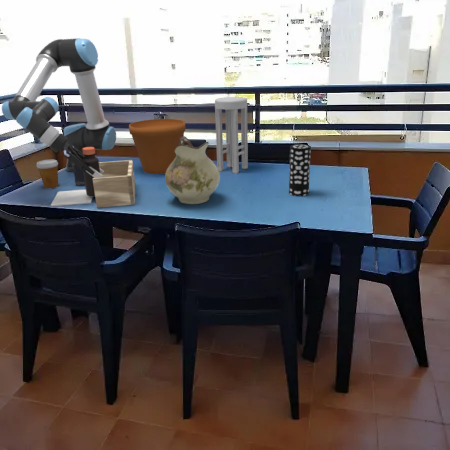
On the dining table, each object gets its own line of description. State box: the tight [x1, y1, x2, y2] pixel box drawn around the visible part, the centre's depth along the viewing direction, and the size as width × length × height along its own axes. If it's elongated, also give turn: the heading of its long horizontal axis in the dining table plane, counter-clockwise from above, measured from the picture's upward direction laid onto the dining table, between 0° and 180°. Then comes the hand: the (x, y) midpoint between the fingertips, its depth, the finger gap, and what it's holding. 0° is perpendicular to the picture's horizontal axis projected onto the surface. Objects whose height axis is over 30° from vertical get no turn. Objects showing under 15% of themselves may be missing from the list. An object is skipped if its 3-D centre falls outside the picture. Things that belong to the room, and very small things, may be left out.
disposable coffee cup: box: [36, 159, 60, 189], centre depth 203 cm, size 10×10×12 cm
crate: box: [93, 159, 136, 208], centre depth 188 cm, size 27×15×12 cm, turn 10°
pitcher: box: [164, 136, 221, 205], centre depth 178 cm, size 22×24×25 cm
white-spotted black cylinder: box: [288, 143, 312, 197], centre depth 182 cm, size 8×8×20 cm
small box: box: [73, 164, 85, 187], centre depth 208 cm, size 11×6×10 cm, turn 168°
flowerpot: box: [128, 118, 186, 175], centre depth 224 cm, size 28×28×24 cm
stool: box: [214, 96, 249, 174], centre depth 218 cm, size 16×16×35 cm
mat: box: [50, 188, 94, 207], centre depth 189 cm, size 18×16×1 cm
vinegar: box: [82, 147, 100, 198], centre depth 184 cm, size 7×7×20 cm
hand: (101, 175), depth 185 cm, fingers closed on vinegar, 6 cm apart
